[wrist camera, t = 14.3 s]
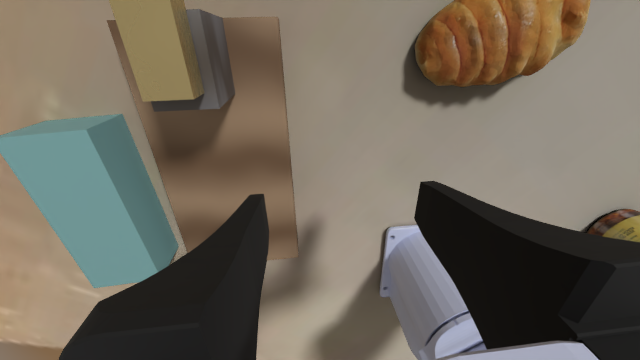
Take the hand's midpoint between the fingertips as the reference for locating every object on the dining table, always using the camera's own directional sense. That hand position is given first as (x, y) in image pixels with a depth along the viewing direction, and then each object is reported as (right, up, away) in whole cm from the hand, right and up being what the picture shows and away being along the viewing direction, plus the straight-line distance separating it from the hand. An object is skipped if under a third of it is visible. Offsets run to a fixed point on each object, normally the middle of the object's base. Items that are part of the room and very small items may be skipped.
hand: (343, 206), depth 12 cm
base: (-8, +3, +8) cm, 12 cm away
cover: (-17, 0, +9) cm, 19 cm away
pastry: (+10, +11, +6) cm, 17 cm away
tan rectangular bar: (-8, +8, -2) cm, 11 cm away
